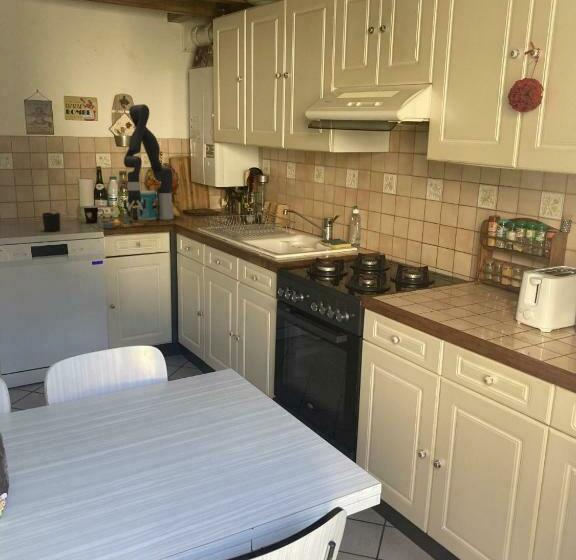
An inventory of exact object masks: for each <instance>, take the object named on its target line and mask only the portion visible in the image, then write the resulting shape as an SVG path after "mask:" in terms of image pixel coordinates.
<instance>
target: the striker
mask: <svg viewBox="0 0 576 560" xmlns="http://www.w3.org/2000/svg"><path fill="white" fill-rule="evenodd" d="M131 209H132V218H130V217H128V215H123V222H125V223H128V224H131V223H143V222H142V221H143V220H141V219H139V218H138V207H133V208H132V207H131Z"/></svg>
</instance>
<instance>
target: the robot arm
mask: <svg viewBox="0 0 576 560" xmlns="http://www.w3.org/2000/svg"><path fill="white" fill-rule="evenodd" d="M128 110H129V111H128V112H129V116H130V119H131V121H132V123H133V125H134V127H135V129H134V130H133V131H132V134H131V136H130V139H129V143H128V149H127V150H126V153H125V155H124V158H123V165H124V167H126V168H129V169H133V170H132V171H129V172H127V173H126V174H127V175H126V176H127V199H123V200H122V205H123V209H124V211H126V214H127V215H126V216H128V217H129V218H130V217H132V215H131V209H132V207H135V206H136V207H137V208H138V207H139V209H140V210H139V211H140V216H142V215H143V209H145V208H146V199H141V195H140V191H141V183H140V181H141V180H140V172H141V168H142V163H143V161H142V158H141V157H140V156H138V154H139V153H140V152H141V149H142V146H143V149H144V150H145V153H146V156H147V158H148V161H149V164H150V167H151V170H152V174H153V177H154V180H156V181H157V182H159V183H160V186H159V187H157V188H156V204H157V220H160V221H161V220H163V221H167V220H168V221H169V220H173V219H174V204H173V203H172V202H173V201H172V189H173V181H174V180H173V179H174V178H173V172H172V171H173V170H171V169H170V168H168V167H163V166H162V165H163V164H162V162H161V161H160V153H161V152H160V151H161V150H160V149H161V148H160V145H159V142H158V139H157V138H156V136H155V134H154V133H153V132H152V131H151V130H150V129H149V128H148V127H147V124H148V121H149V118H150V108H149V106H148V105H146V104H144V103H141V104H134V105H133V104H132V105H130V107H129V109H128ZM136 154H137V155H136ZM141 201H142V206H141V204H140V202H141ZM127 204H128V205H127Z"/></svg>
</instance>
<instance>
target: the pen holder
mask: <svg viewBox="0 0 576 560" xmlns="http://www.w3.org/2000/svg"><path fill="white" fill-rule="evenodd" d="M42 223H43V228H44V229H43V230H44V231H45V232H47V233H48V232H49V233H51V232H60V230H61V213H60V212H56V213H52V212H44V213H43V212H42Z"/></svg>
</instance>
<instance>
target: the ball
mask: <svg viewBox="0 0 576 560" xmlns="http://www.w3.org/2000/svg"><path fill="white" fill-rule="evenodd" d="M120 222H121V221H120V220H119V219H114V221H113V222H112V223H114V227H119V226H121V225H120Z"/></svg>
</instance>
